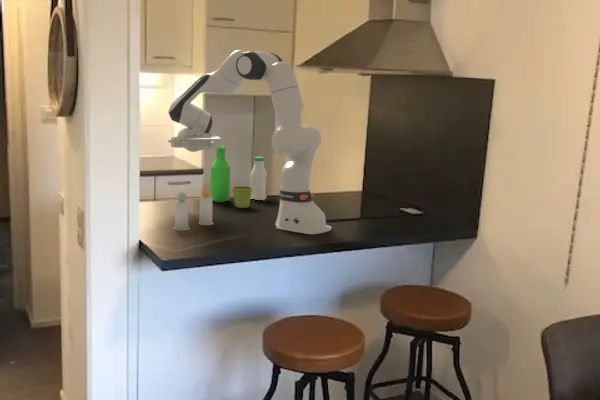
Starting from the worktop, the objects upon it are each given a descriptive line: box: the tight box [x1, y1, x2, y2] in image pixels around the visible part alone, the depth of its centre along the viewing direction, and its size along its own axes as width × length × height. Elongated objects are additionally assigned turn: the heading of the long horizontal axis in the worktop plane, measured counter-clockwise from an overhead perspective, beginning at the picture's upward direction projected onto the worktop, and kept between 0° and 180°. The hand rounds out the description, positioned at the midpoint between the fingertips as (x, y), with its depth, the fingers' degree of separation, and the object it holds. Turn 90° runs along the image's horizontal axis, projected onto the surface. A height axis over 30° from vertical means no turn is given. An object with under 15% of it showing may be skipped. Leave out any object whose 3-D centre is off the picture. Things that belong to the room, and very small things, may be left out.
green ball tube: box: [174, 191, 190, 231], centre depth 235 cm, size 5×5×13 cm
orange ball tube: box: [198, 188, 213, 226], centre depth 244 cm, size 5×5×13 cm
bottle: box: [209, 145, 231, 203], centre depth 292 cm, size 9×9×25 cm
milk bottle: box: [249, 156, 268, 201], centre depth 299 cm, size 8×8×20 cm
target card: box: [173, 221, 214, 231], centre depth 241 cm, size 10×20×1 cm, turn 141°
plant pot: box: [231, 185, 253, 209], centre depth 282 cm, size 9×9×9 cm
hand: (200, 144), depth 251 cm, fingers open, 8 cm apart
